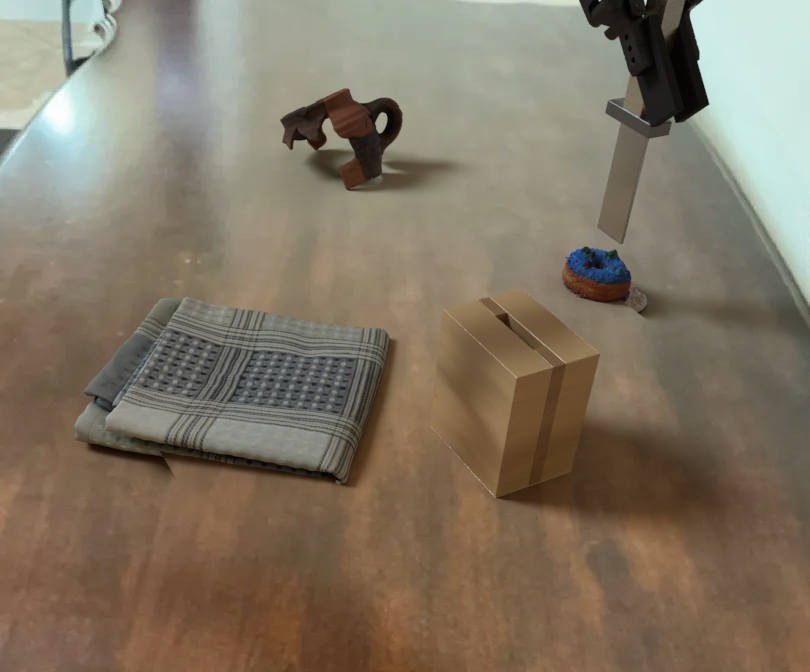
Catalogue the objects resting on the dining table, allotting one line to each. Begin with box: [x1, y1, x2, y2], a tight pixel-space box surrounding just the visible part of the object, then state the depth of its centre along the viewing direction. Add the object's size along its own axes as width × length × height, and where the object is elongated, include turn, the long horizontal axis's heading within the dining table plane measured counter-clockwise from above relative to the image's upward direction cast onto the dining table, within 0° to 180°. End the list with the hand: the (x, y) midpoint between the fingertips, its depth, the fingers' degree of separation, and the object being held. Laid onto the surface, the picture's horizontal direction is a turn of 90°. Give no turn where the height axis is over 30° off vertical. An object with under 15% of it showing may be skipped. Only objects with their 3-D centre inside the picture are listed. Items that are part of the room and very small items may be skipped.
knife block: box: [429, 288, 601, 499], centre depth 61 cm, size 8×6×10 cm
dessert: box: [561, 245, 648, 314], centre depth 81 cm, size 8×7×6 cm
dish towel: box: [73, 296, 391, 486], centre depth 67 cm, size 19×18×3 cm
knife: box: [596, 0, 685, 245], centre depth 71 cm, size 5×2×18 cm, turn 30°
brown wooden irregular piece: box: [279, 87, 404, 190], centre depth 95 cm, size 12×10×8 cm
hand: (679, 115), depth 68 cm, fingers closed on knife, 2 cm apart
